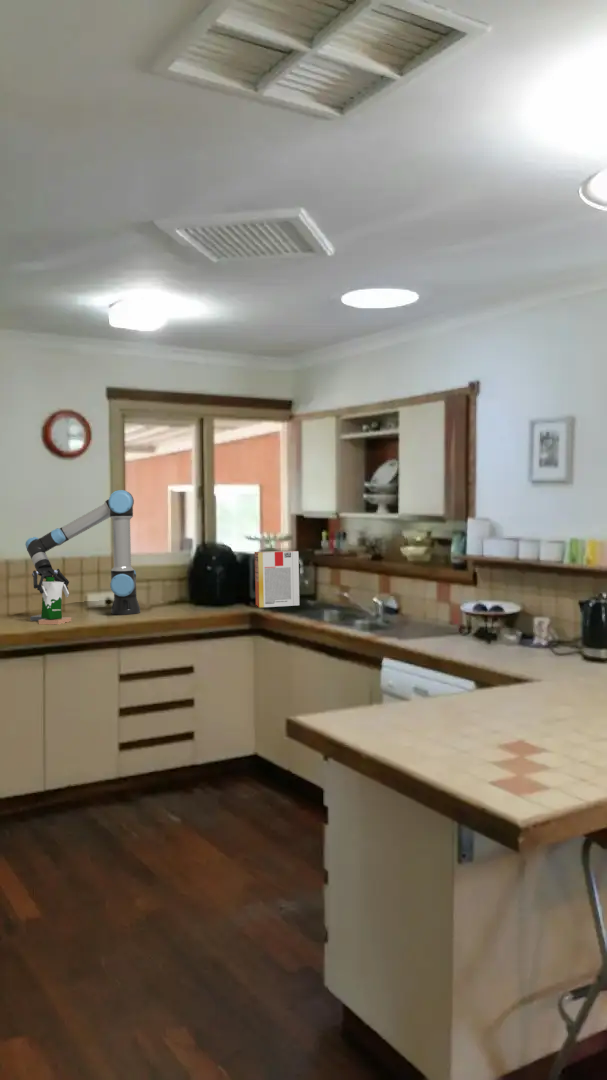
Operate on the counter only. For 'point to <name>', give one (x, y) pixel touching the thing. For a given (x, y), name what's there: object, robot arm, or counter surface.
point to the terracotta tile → (55, 620)
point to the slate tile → (36, 618)
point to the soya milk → (52, 599)
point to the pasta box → (277, 578)
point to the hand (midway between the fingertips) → (57, 596)
